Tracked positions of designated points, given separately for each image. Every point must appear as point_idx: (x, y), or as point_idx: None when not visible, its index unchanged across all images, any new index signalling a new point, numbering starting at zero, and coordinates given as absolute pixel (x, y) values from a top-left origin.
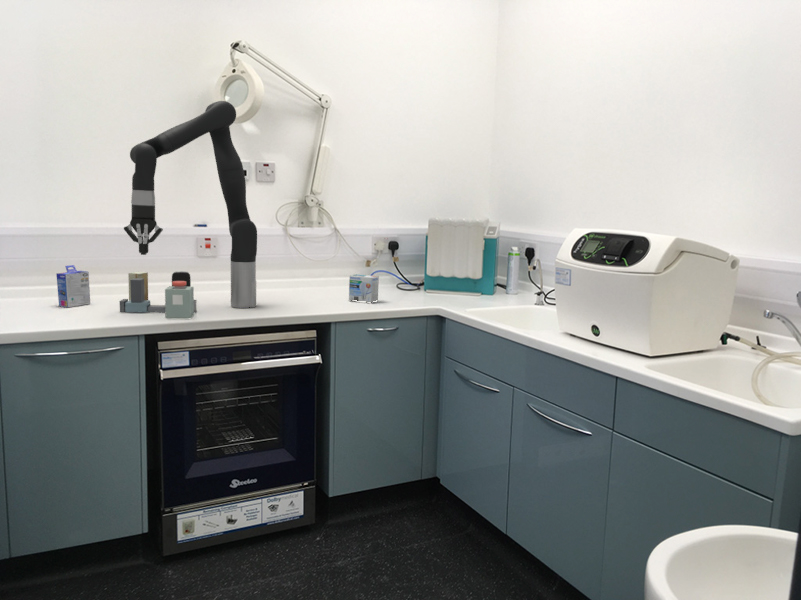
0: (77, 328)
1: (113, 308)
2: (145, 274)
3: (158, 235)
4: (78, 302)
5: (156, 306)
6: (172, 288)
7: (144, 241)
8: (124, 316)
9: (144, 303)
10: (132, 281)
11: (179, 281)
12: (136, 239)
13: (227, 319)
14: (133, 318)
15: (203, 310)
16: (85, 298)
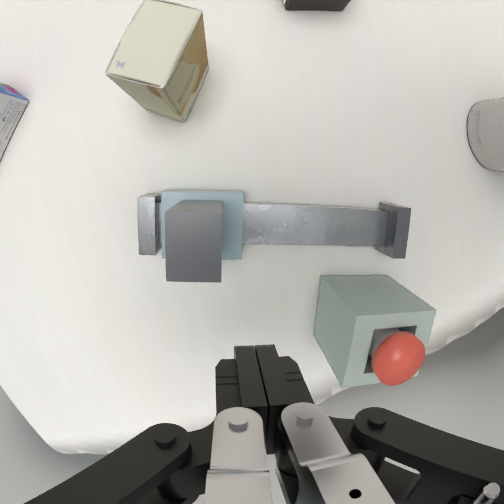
0: (134, 433)
1: (107, 165)
2: (193, 34)
3: (466, 447)
4: (2, 140)
5: (273, 233)
6: (367, 356)
7: (288, 476)
8: (184, 308)
9: (234, 258)
10: (178, 279)
11: (403, 355)
12: (198, 495)
13: (450, 323)
14: (220, 337)
15: (409, 195)
16: (9, 115)
